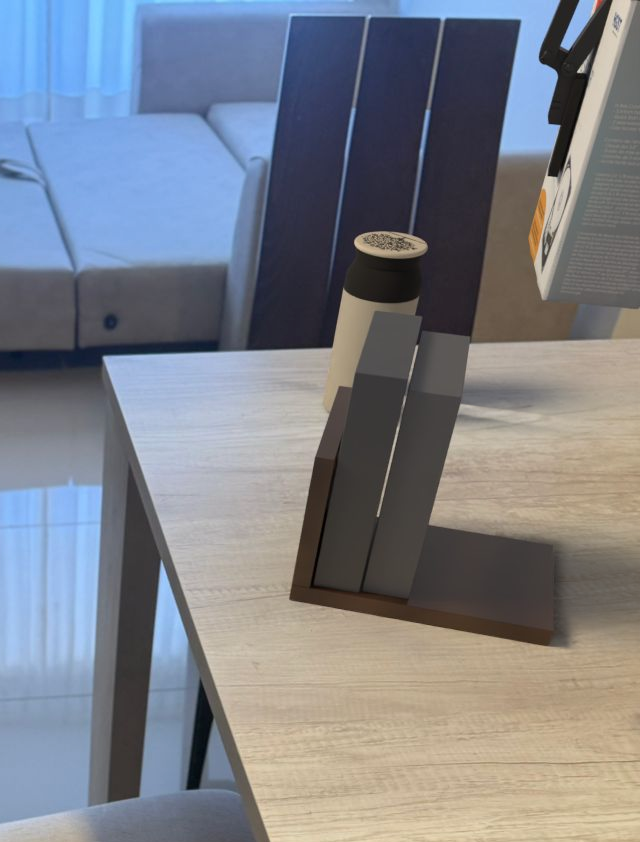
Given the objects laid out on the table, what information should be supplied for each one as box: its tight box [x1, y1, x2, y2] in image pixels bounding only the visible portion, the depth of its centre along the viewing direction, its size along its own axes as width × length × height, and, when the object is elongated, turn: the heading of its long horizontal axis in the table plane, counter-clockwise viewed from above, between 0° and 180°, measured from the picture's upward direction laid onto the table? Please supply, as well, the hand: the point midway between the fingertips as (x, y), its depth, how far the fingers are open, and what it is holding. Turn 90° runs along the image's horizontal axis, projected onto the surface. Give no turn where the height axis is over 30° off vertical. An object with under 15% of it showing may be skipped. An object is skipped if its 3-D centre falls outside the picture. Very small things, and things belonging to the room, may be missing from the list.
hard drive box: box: [528, 0, 640, 310], centre depth 88 cm, size 16×8×20 cm, turn 167°
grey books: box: [313, 311, 471, 599], centre depth 99 cm, size 8×14×19 cm, turn 162°
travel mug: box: [322, 231, 429, 413], centre depth 126 cm, size 8×8×18 cm
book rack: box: [288, 386, 555, 647], centre depth 101 cm, size 22×15×14 cm
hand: (610, 177), depth 89 cm, fingers closed on hard drive box, 8 cm apart
